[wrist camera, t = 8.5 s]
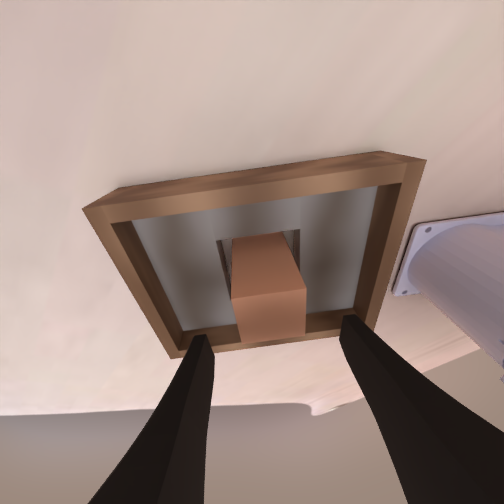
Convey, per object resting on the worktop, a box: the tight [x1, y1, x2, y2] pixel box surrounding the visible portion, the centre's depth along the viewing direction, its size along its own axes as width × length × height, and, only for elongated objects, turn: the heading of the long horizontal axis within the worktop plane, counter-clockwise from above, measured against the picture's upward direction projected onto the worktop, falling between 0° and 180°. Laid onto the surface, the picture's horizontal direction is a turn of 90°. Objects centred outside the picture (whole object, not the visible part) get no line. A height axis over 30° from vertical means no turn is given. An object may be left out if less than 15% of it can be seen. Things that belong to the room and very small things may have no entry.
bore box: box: [82, 151, 427, 359], centre depth 16 cm, size 18×14×4 cm
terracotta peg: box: [231, 231, 307, 344], centre depth 15 cm, size 4×4×7 cm
